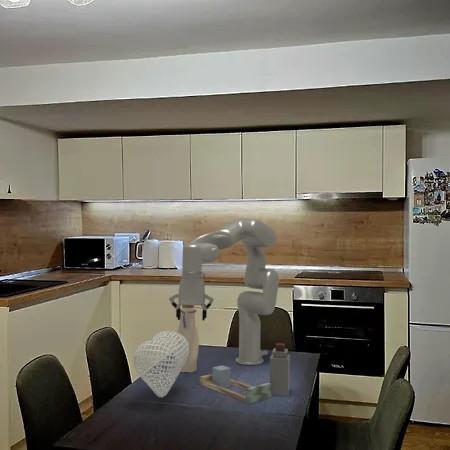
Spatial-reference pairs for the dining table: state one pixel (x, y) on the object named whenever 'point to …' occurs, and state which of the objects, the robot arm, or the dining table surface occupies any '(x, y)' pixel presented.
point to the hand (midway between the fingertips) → (191, 319)
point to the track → (251, 392)
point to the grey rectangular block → (221, 376)
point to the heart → (177, 369)
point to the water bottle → (189, 337)
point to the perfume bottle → (280, 370)
